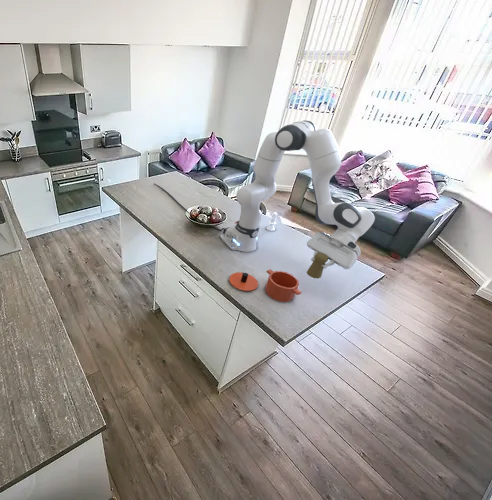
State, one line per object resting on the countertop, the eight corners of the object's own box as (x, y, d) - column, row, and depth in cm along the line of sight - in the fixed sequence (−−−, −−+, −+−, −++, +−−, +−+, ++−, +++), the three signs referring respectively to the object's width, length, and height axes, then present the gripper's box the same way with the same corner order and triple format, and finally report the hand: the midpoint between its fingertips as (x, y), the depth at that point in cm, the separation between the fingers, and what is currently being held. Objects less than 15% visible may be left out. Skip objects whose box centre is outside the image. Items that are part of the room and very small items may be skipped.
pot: (284, 309, 128) (290, 295, 123) (255, 284, 141) (259, 272, 137) (304, 300, 132) (310, 287, 128) (274, 277, 146) (278, 265, 141)
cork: (308, 268, 136) (316, 249, 129) (322, 273, 133) (331, 254, 126) (305, 274, 132) (313, 255, 126) (319, 280, 129) (328, 260, 122)
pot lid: (242, 295, 135) (244, 286, 132) (223, 278, 145) (225, 270, 142) (263, 287, 140) (266, 278, 137) (243, 271, 150) (246, 263, 147)
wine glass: (274, 231, 184) (279, 214, 178) (265, 229, 186) (270, 212, 180) (275, 228, 188) (280, 211, 181) (267, 226, 190) (271, 209, 184)
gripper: (318, 226, 132) (296, 249, 134) (362, 249, 117) (337, 274, 119) (321, 233, 136) (300, 254, 138) (364, 255, 121) (340, 280, 123)
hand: (317, 264), depth 129 cm, fingers closed on cork, 4 cm apart
